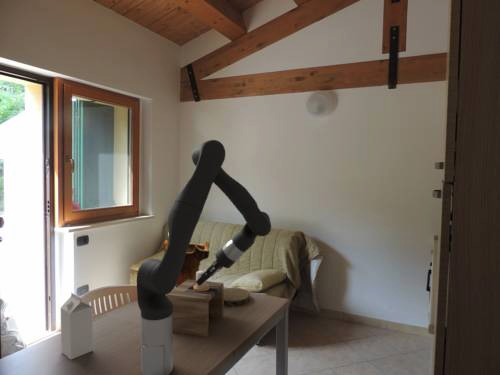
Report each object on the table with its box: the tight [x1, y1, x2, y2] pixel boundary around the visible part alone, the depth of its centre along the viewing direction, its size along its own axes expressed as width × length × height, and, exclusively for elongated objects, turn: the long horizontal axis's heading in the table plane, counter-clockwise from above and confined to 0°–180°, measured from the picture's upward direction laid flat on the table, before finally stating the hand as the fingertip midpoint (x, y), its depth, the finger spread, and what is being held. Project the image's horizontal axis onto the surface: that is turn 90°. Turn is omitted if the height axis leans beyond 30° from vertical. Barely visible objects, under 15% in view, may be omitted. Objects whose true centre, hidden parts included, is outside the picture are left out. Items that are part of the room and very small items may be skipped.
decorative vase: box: [163, 239, 211, 288], centre depth 161 cm, size 21×23×28 cm
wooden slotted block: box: [166, 279, 225, 338], centre depth 133 cm, size 18×16×14 cm
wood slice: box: [224, 287, 251, 307], centre depth 158 cm, size 16×16×3 cm
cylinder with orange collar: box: [194, 270, 209, 292], centre depth 132 cm, size 6×6×16 cm
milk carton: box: [60, 292, 94, 361], centre depth 111 cm, size 7×7×19 cm
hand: (202, 280), depth 132 cm, fingers open, 8 cm apart
